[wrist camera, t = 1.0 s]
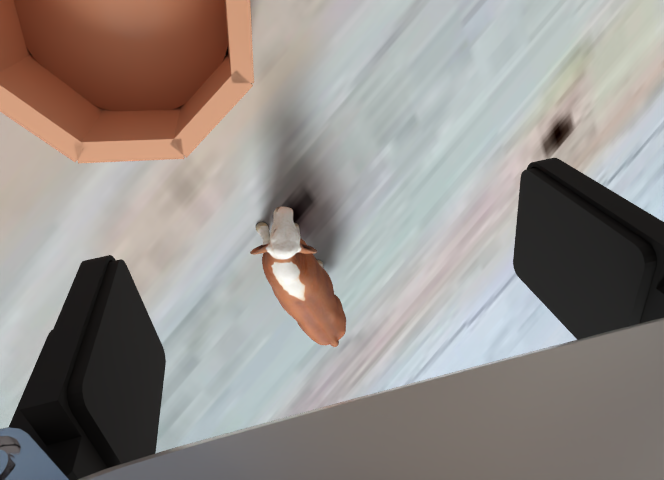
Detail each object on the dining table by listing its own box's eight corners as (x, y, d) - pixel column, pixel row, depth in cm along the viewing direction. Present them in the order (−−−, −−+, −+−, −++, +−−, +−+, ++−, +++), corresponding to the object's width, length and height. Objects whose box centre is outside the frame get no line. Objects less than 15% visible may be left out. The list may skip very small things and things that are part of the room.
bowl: (236, -124, 27) (243, -145, 22) (249, 120, 35) (257, 155, 29) (-45, -144, 25) (-125, -174, 19) (34, 127, 32) (-7, 166, 26)
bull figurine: (286, 168, 37) (302, 217, 30) (338, 292, 45) (361, 354, 38) (233, 189, 37) (238, 243, 30) (295, 310, 45) (310, 375, 38)
